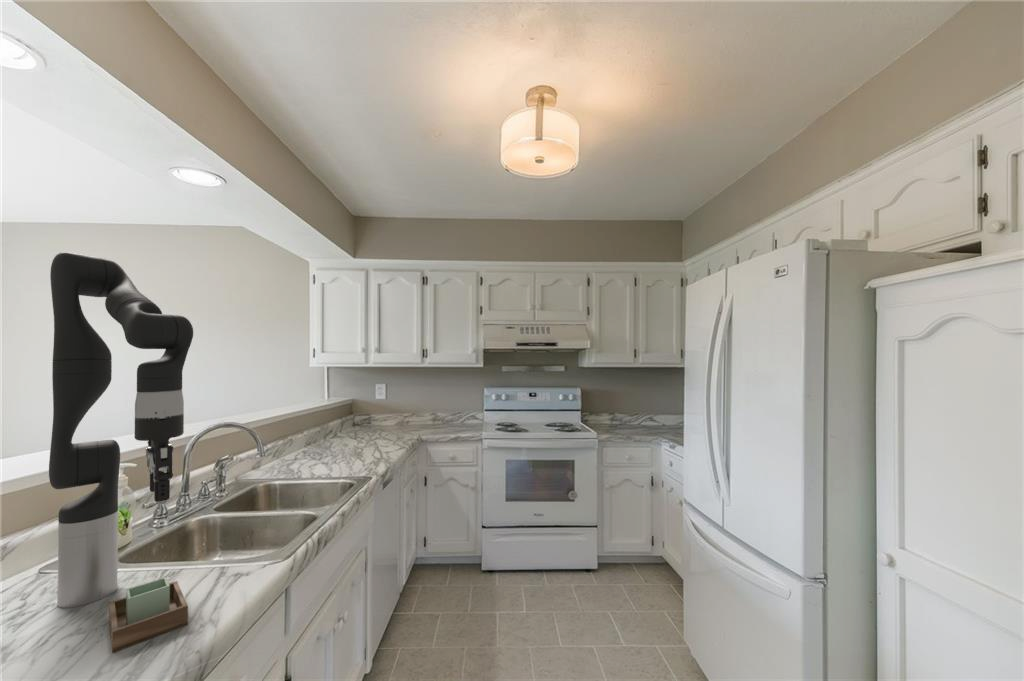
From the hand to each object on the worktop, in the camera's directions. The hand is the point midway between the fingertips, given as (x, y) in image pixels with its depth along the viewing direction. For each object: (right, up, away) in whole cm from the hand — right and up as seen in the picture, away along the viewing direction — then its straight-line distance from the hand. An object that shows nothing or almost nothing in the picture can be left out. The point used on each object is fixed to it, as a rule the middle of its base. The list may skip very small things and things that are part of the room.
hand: (159, 495), depth 84 cm
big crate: (0, -24, -3) cm, 24 cm away
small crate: (0, -23, -3) cm, 23 cm away
